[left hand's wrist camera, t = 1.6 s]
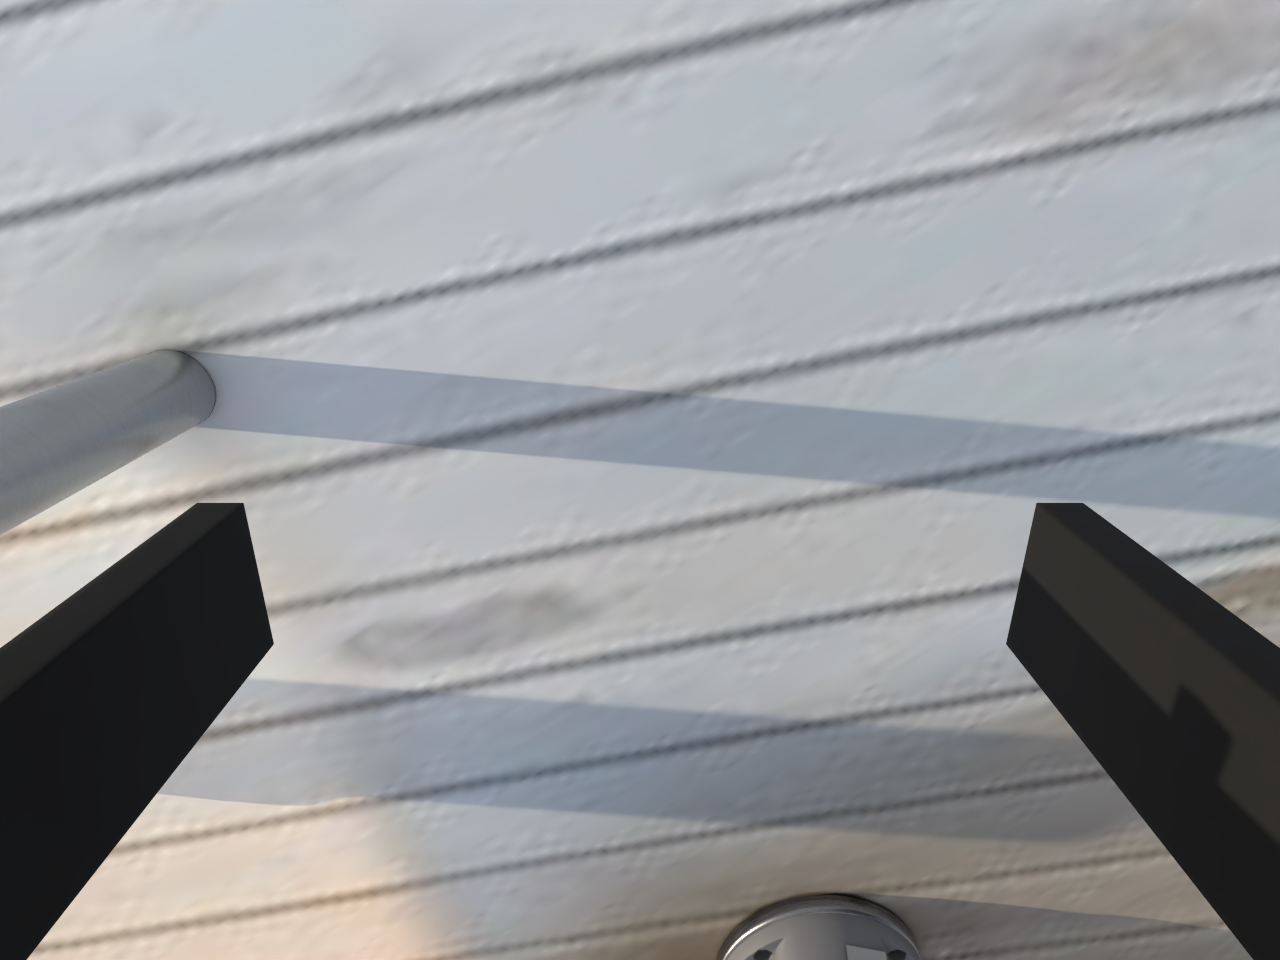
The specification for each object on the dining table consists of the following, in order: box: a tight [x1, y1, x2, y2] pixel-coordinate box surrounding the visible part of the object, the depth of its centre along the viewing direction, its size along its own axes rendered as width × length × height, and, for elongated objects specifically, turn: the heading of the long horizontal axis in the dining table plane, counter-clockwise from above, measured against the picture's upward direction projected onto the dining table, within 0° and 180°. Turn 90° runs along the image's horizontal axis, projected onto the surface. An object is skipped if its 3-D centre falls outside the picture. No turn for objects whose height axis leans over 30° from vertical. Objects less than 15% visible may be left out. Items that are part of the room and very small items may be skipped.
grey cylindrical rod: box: [0, 350, 215, 535], centre depth 32 cm, size 4×4×18 cm
